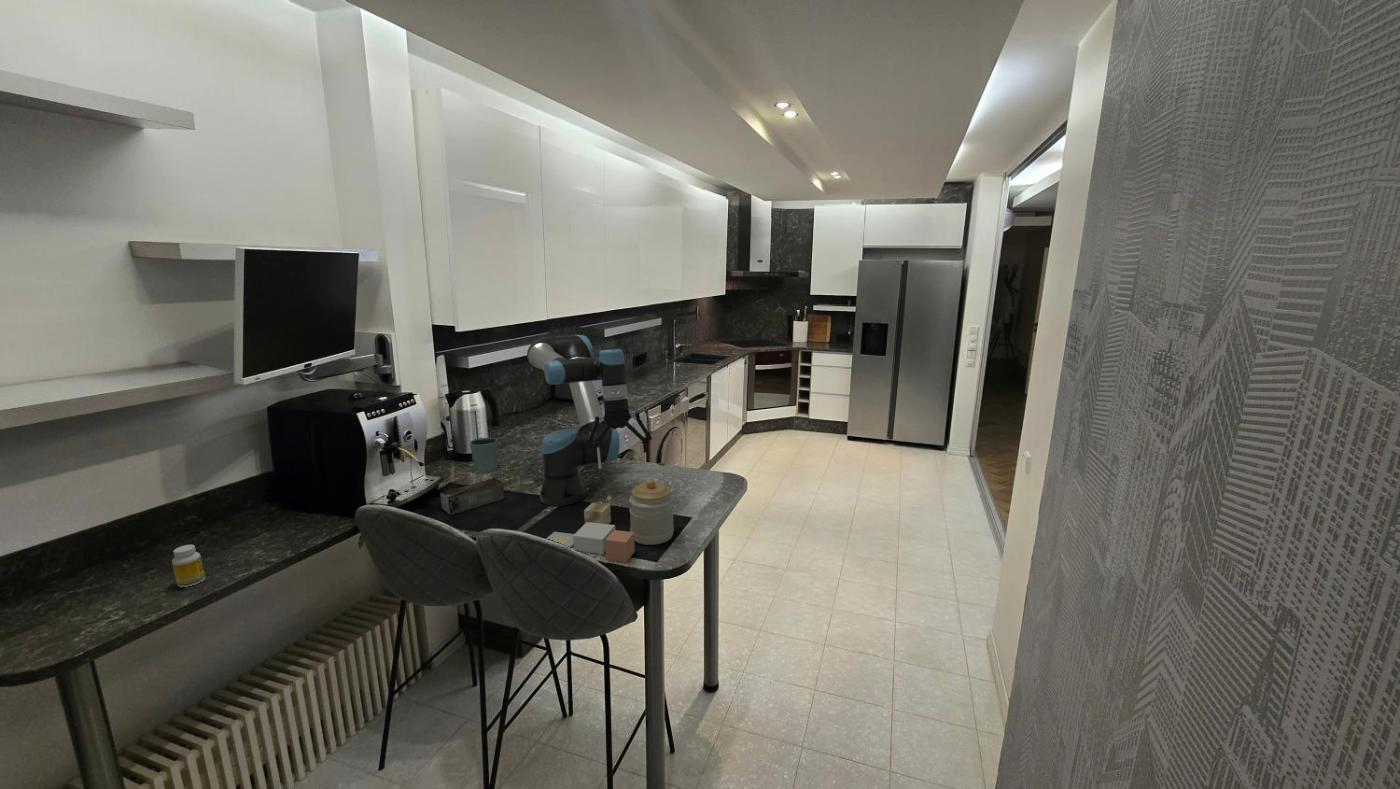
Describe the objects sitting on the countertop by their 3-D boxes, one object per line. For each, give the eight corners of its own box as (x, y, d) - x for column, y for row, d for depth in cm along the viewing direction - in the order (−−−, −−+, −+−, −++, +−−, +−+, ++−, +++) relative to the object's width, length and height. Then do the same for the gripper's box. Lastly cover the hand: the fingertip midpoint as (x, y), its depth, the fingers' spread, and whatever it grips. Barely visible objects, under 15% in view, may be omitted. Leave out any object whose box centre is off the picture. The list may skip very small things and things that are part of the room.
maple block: (585, 528, 170) (584, 510, 169) (593, 520, 176) (592, 502, 175) (603, 530, 169) (602, 512, 167) (610, 522, 174) (610, 504, 173)
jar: (621, 538, 163) (619, 482, 160) (647, 522, 174) (646, 469, 170) (657, 550, 157) (655, 491, 153) (682, 532, 168) (681, 477, 164)
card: (538, 547, 158) (538, 545, 158) (554, 533, 167) (554, 531, 167) (567, 551, 156) (567, 549, 156) (581, 536, 165) (581, 534, 164)
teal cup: (467, 472, 217) (464, 443, 215) (483, 464, 227) (481, 436, 224) (488, 475, 215) (486, 445, 212) (505, 466, 224) (502, 438, 221)
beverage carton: (440, 508, 185) (438, 490, 184) (496, 493, 198) (495, 475, 196) (449, 516, 179) (447, 497, 178) (506, 499, 192) (504, 481, 191)
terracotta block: (606, 559, 152) (605, 539, 150) (614, 549, 157) (614, 530, 156) (626, 562, 150) (626, 542, 149) (634, 551, 156) (634, 532, 155)
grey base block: (573, 550, 157) (572, 535, 156) (587, 535, 165) (586, 522, 164) (603, 554, 155) (602, 539, 154) (615, 539, 163) (615, 525, 162)
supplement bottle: (176, 582, 141) (168, 548, 139) (204, 574, 145) (196, 540, 143) (178, 590, 138) (170, 555, 136) (207, 582, 142) (199, 547, 139)
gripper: (574, 403, 167) (581, 472, 168) (656, 395, 171) (662, 463, 173) (575, 401, 174) (581, 468, 176) (653, 394, 179) (659, 458, 180)
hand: (621, 465), depth 174 cm, fingers open, 13 cm apart
